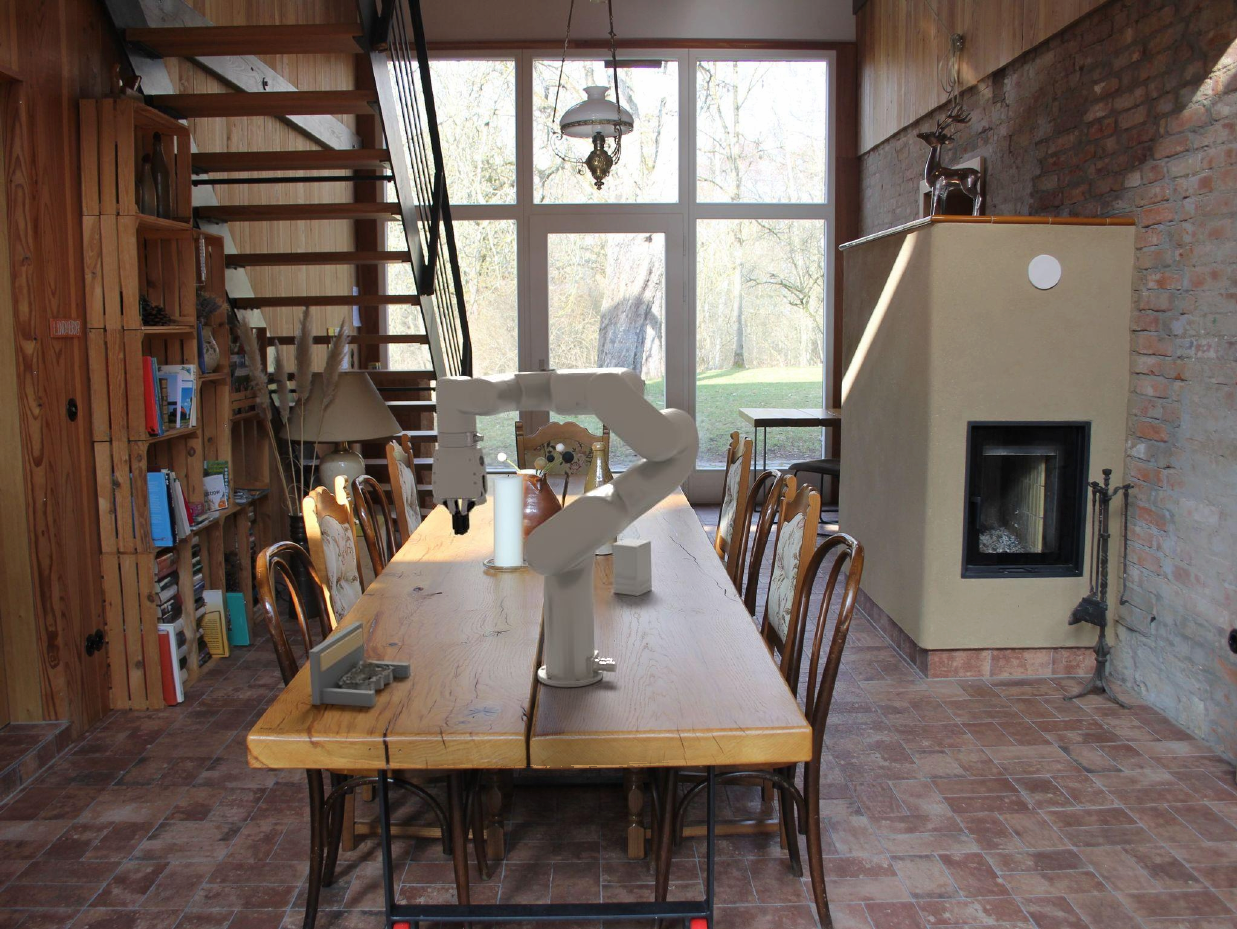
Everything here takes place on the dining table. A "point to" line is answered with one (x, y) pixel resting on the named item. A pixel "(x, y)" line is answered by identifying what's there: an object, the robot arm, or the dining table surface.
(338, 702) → the display stand
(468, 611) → the dining table surface
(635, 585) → the supplement box
